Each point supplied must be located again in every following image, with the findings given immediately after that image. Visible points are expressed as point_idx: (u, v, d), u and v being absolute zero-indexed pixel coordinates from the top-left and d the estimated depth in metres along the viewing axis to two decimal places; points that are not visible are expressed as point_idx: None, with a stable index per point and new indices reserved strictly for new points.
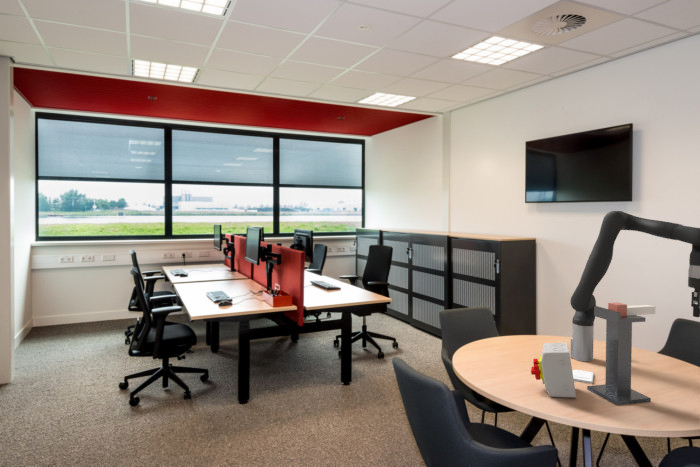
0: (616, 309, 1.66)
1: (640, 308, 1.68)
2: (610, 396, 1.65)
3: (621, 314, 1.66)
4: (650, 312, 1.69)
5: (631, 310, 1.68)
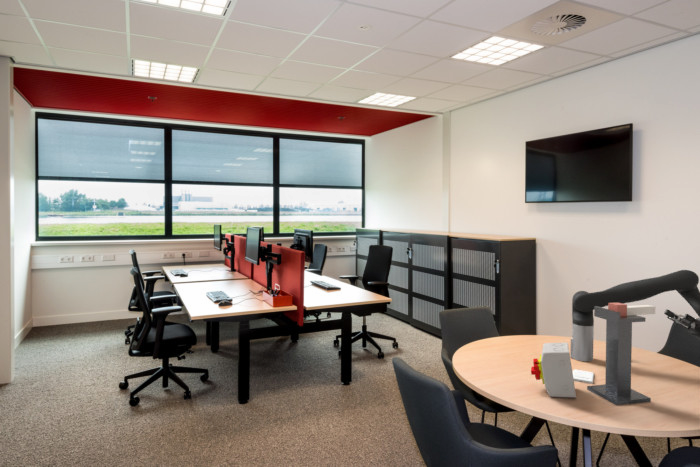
0: (616, 309, 1.66)
1: (640, 308, 1.68)
2: (610, 396, 1.65)
3: (621, 314, 1.66)
4: (650, 312, 1.69)
5: (631, 310, 1.68)
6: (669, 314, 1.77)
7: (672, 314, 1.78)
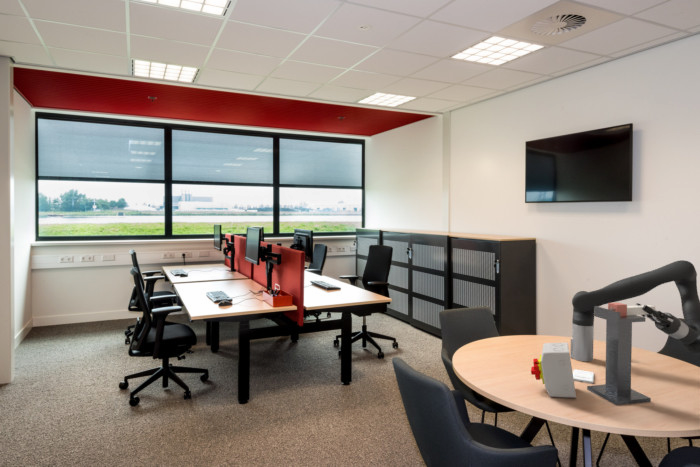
0: (615, 309, 1.66)
1: (640, 308, 1.68)
2: (610, 396, 1.65)
3: (621, 314, 1.66)
4: None
5: (631, 310, 1.68)
6: None
7: None
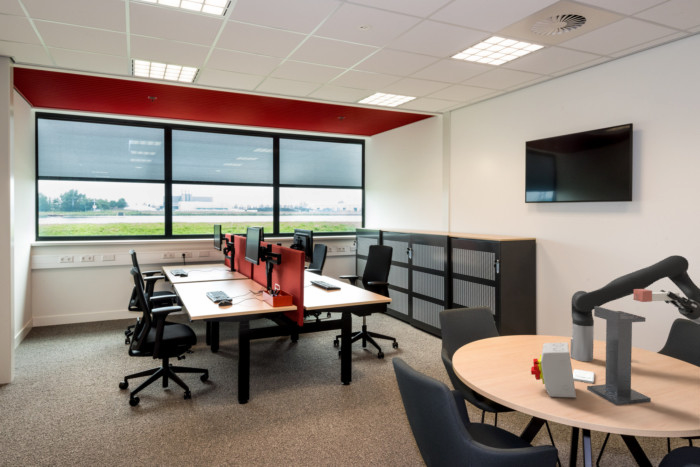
0: (641, 295, 1.74)
1: (664, 294, 1.76)
2: (610, 396, 1.65)
3: (646, 300, 1.74)
4: None
5: (656, 296, 1.75)
6: None
7: None
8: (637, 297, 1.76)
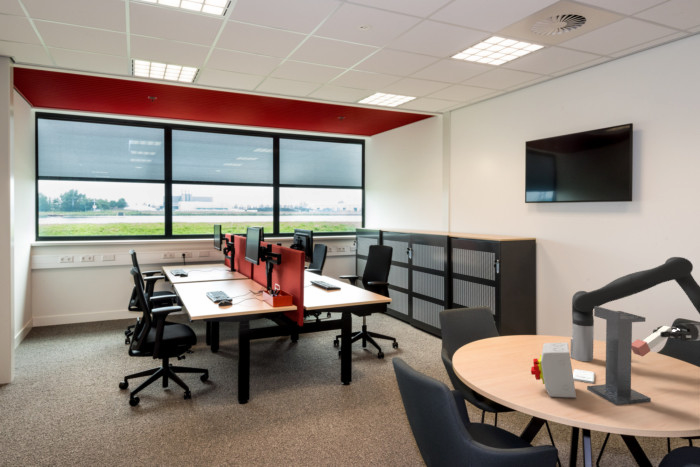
0: (639, 351, 1.79)
1: (658, 336, 1.81)
2: (610, 396, 1.65)
3: (645, 352, 1.79)
4: None
5: (652, 343, 1.81)
6: None
7: None
8: (637, 352, 1.81)
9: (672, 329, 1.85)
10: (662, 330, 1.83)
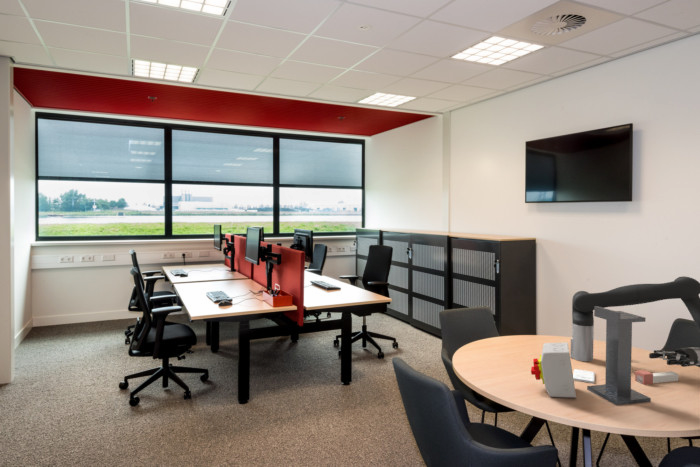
0: (643, 378, 1.81)
1: (664, 376, 1.83)
2: (610, 396, 1.65)
3: (648, 382, 1.81)
4: (673, 379, 1.84)
5: (656, 378, 1.82)
6: (654, 356, 1.88)
7: (656, 355, 1.88)
8: (639, 380, 1.82)
9: (670, 354, 1.87)
10: (669, 373, 1.85)
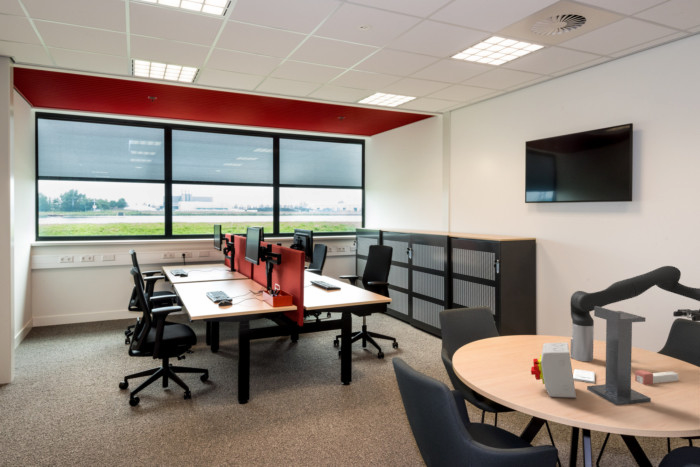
0: (643, 378, 1.81)
1: (664, 376, 1.83)
2: (610, 396, 1.65)
3: (648, 382, 1.81)
4: (673, 379, 1.84)
5: (656, 378, 1.82)
6: (678, 314, 1.89)
7: (680, 313, 1.89)
8: (639, 380, 1.82)
9: None
10: (669, 373, 1.85)
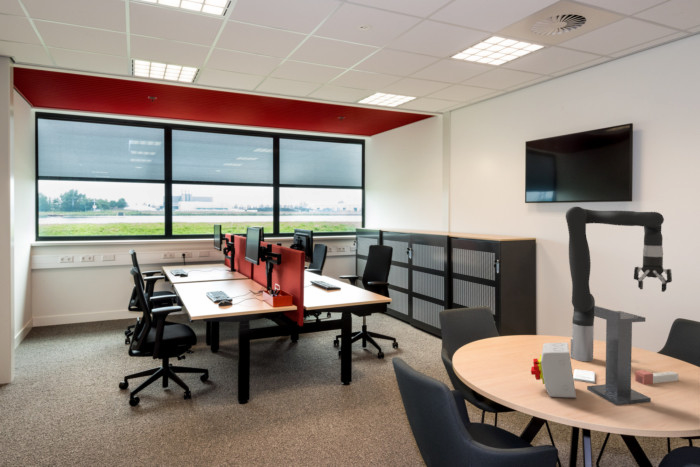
0: (643, 378, 1.81)
1: (665, 376, 1.83)
2: (610, 396, 1.65)
3: (648, 382, 1.81)
4: (673, 379, 1.84)
5: (656, 378, 1.82)
6: (642, 285, 2.02)
7: (642, 282, 2.02)
8: (639, 380, 1.82)
9: (647, 273, 1.99)
10: (669, 373, 1.85)
